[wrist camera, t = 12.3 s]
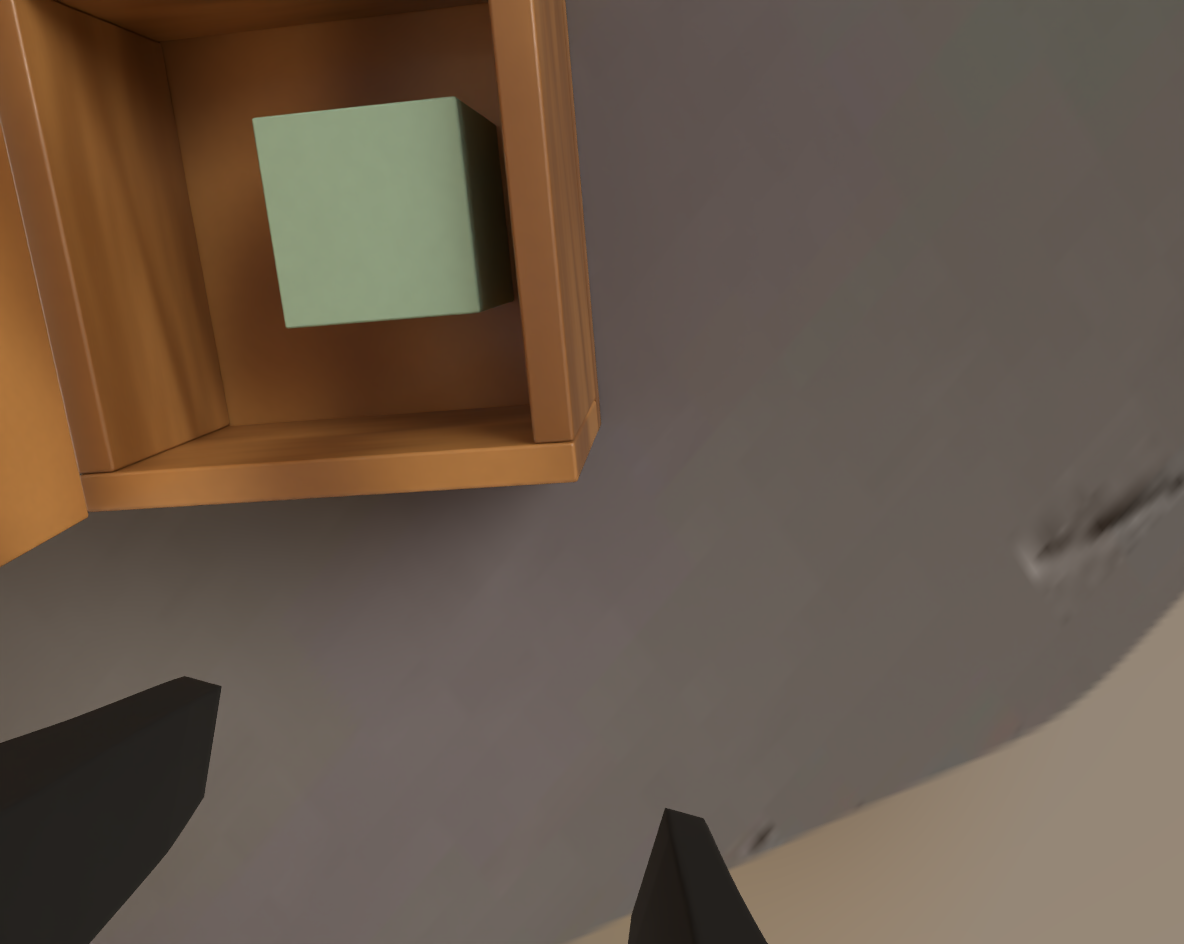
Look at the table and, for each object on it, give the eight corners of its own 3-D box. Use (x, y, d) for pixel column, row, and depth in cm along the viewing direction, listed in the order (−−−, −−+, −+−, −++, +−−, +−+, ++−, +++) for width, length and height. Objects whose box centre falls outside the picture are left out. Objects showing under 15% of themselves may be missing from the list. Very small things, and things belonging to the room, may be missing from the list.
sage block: (327, 141, 21) (250, 117, 17) (496, 124, 21) (455, 95, 17) (352, 315, 22) (284, 329, 18) (514, 301, 22) (480, 313, 18)
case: (562, -35, 21) (520, -141, 15) (601, 425, 23) (578, 482, 17) (142, 17, 22) (-44, -64, 16) (222, 451, 24) (85, 512, 18)
